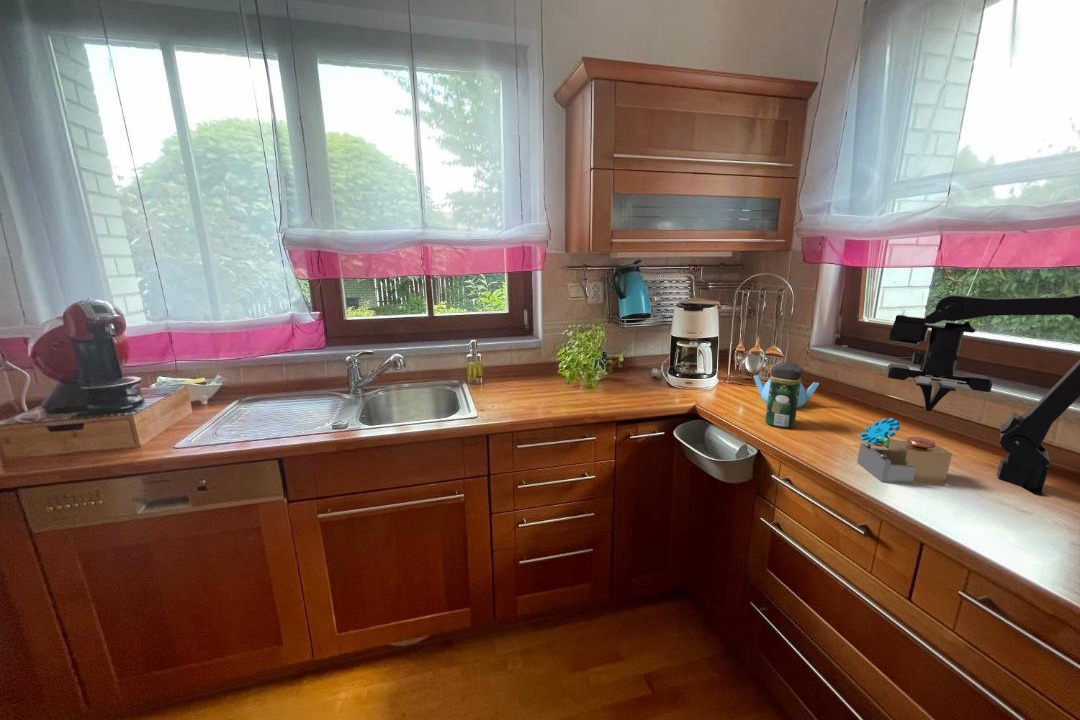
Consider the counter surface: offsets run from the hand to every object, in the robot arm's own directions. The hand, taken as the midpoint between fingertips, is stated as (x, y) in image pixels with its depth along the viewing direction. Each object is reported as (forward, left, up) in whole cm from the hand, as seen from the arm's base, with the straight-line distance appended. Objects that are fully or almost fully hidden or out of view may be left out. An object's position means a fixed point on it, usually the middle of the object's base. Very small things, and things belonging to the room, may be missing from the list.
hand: (927, 410), depth 110 cm
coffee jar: (+32, -6, -13) cm, 35 cm away
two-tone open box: (+3, +15, -13) cm, 20 cm away
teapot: (+35, -29, -13) cm, 48 cm away
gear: (+8, -5, -13) cm, 16 cm away
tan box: (+1, +14, -12) cm, 18 cm away
